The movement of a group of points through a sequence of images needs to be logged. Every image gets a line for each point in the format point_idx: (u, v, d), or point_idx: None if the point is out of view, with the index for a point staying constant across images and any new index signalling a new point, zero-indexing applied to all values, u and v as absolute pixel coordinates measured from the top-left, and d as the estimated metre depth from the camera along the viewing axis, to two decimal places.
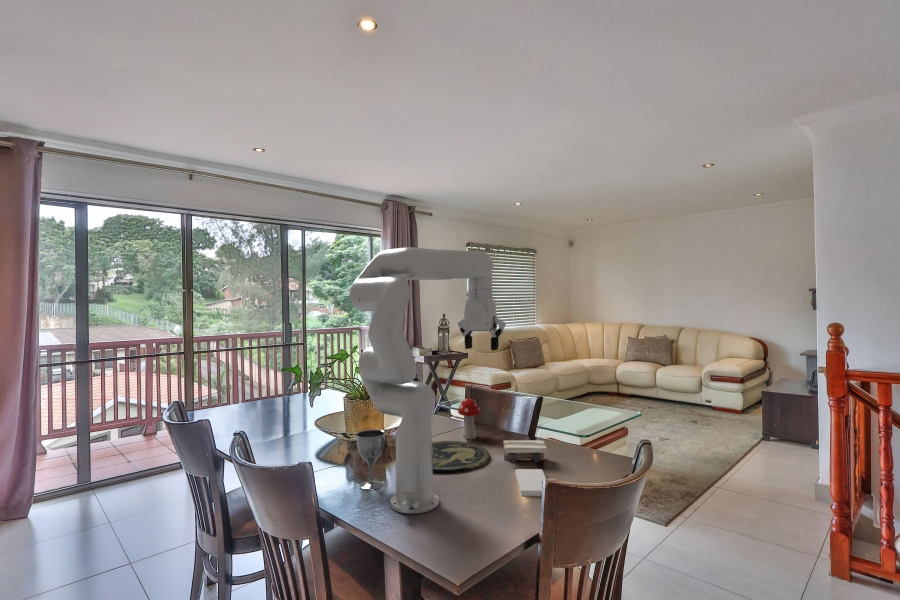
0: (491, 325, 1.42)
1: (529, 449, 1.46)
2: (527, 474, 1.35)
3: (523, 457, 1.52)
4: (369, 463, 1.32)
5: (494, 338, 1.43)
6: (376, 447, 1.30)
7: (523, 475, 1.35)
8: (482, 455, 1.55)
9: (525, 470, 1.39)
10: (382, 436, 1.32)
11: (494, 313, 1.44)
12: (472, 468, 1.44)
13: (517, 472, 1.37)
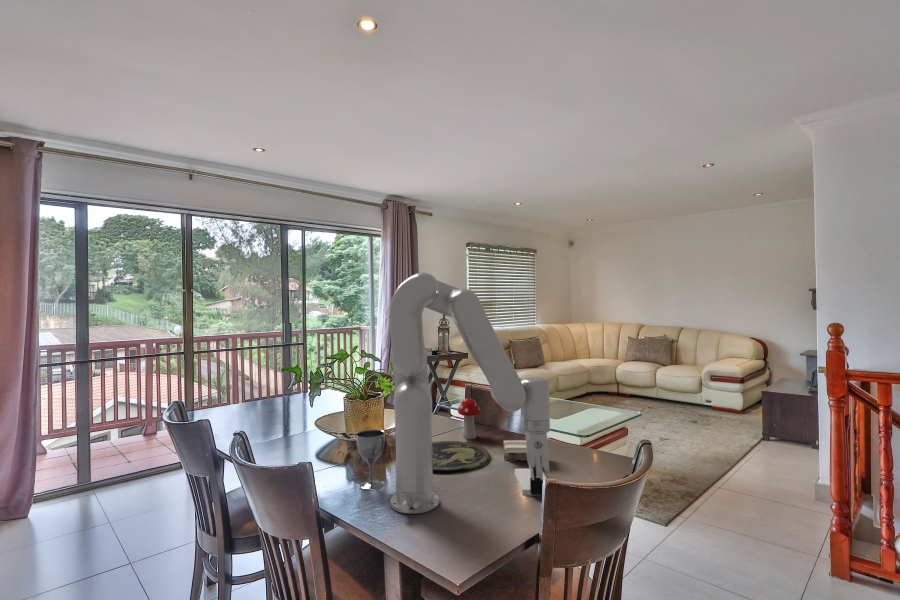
0: None
1: None
2: (527, 474, 1.36)
3: (523, 457, 1.52)
4: (369, 463, 1.32)
5: None
6: (376, 447, 1.30)
7: (523, 474, 1.35)
8: (482, 455, 1.55)
9: (524, 469, 1.39)
10: (382, 436, 1.32)
11: None
12: (472, 468, 1.44)
13: (517, 471, 1.38)
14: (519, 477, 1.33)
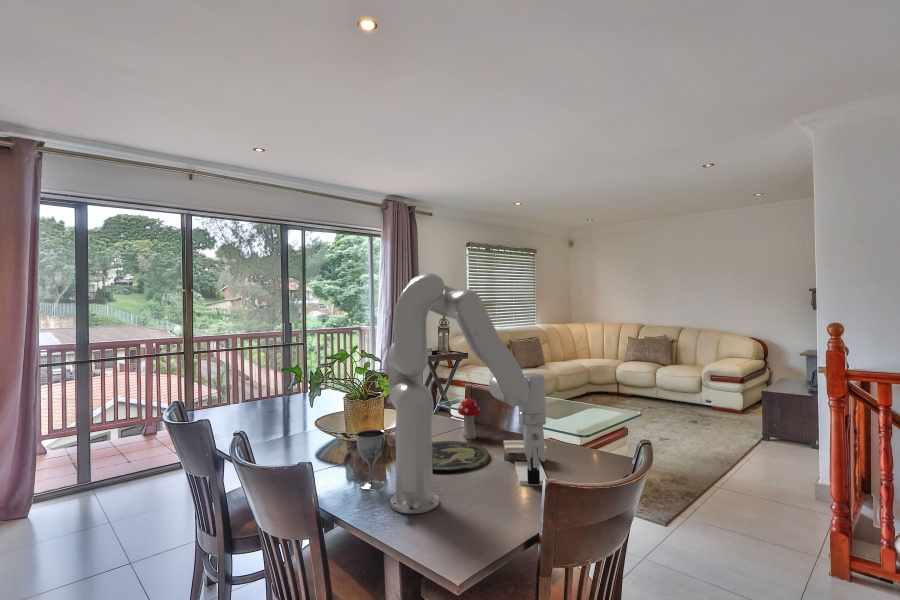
0: None
1: None
2: (526, 466, 1.43)
3: (523, 457, 1.52)
4: (369, 463, 1.32)
5: None
6: (376, 447, 1.30)
7: (522, 467, 1.42)
8: (482, 455, 1.55)
9: (524, 462, 1.46)
10: (382, 436, 1.32)
11: None
12: (472, 468, 1.44)
13: (516, 464, 1.45)
14: (518, 469, 1.40)
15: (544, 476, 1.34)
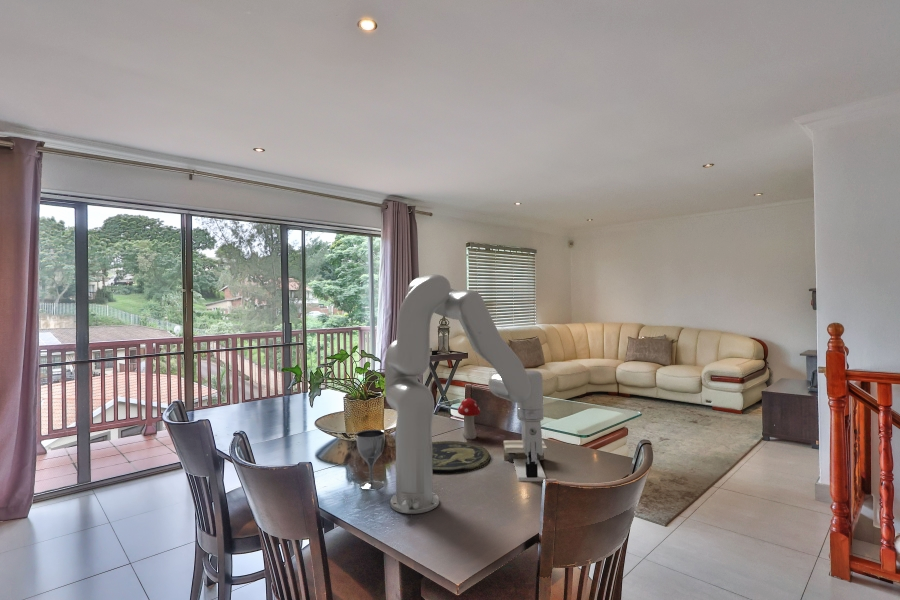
0: None
1: None
2: (524, 463, 1.46)
3: (523, 457, 1.52)
4: (369, 463, 1.32)
5: None
6: (376, 447, 1.30)
7: (520, 464, 1.45)
8: (482, 455, 1.55)
9: (522, 459, 1.49)
10: (382, 436, 1.32)
11: None
12: (472, 468, 1.44)
13: (515, 461, 1.48)
14: (516, 466, 1.43)
15: (542, 473, 1.38)
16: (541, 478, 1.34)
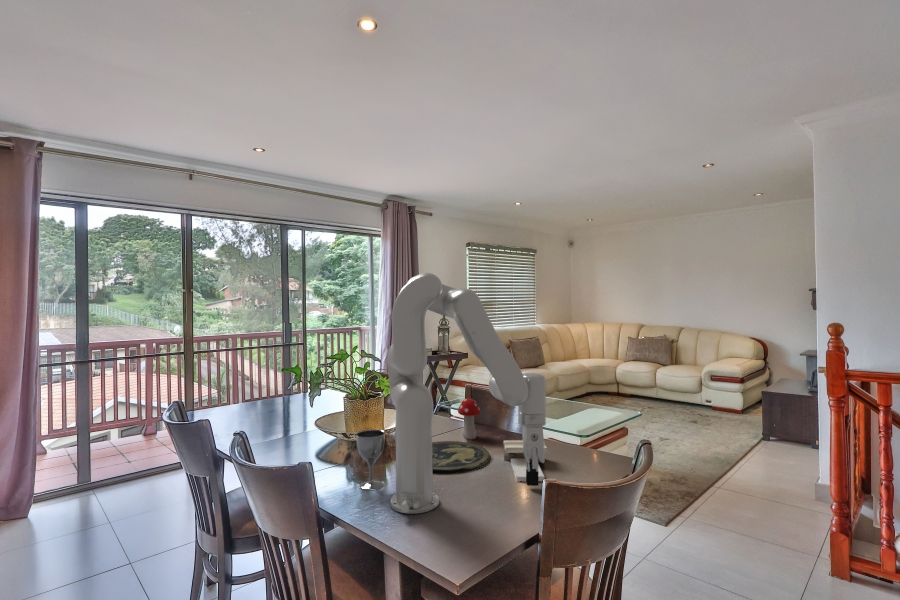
0: None
1: None
2: (522, 463, 1.45)
3: (523, 457, 1.52)
4: (369, 463, 1.32)
5: None
6: (376, 447, 1.30)
7: (518, 463, 1.45)
8: (482, 455, 1.55)
9: (520, 459, 1.49)
10: (382, 436, 1.32)
11: None
12: (472, 468, 1.44)
13: (512, 461, 1.47)
14: (514, 466, 1.43)
15: (540, 472, 1.37)
16: (539, 477, 1.34)
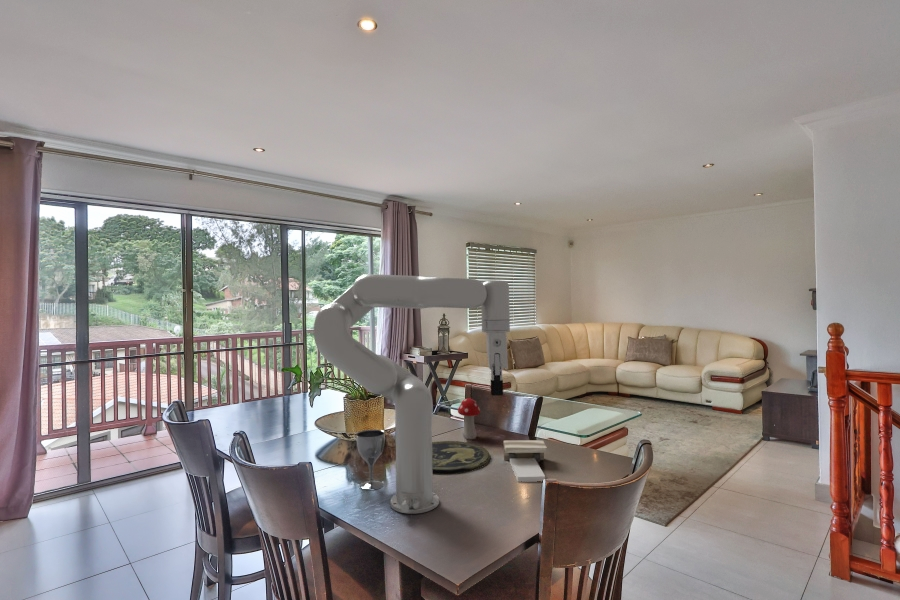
0: None
1: (529, 449, 1.46)
2: (521, 463, 1.45)
3: (523, 457, 1.52)
4: (369, 463, 1.32)
5: None
6: (376, 447, 1.30)
7: (517, 464, 1.45)
8: (482, 455, 1.55)
9: (519, 459, 1.49)
10: (382, 436, 1.32)
11: None
12: (472, 468, 1.44)
13: (512, 461, 1.47)
14: (514, 466, 1.43)
15: (540, 472, 1.37)
16: (540, 477, 1.34)
